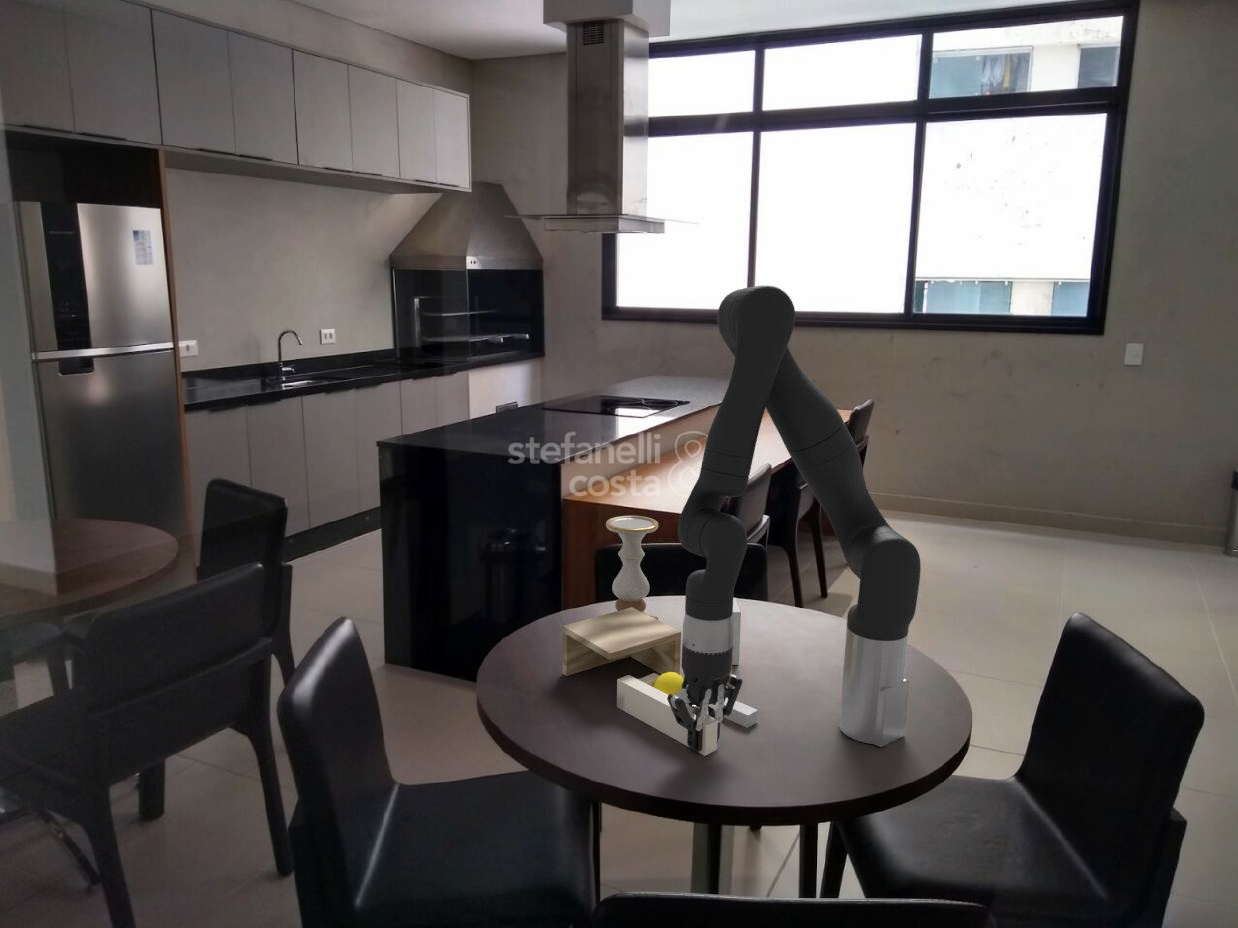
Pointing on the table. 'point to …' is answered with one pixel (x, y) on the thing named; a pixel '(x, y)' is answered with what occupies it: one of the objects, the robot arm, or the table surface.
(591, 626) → the cubby
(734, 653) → the small box
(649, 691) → the white bar
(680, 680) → the lemon
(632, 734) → the table surface
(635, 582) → the candle holder
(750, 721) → the grey stick
